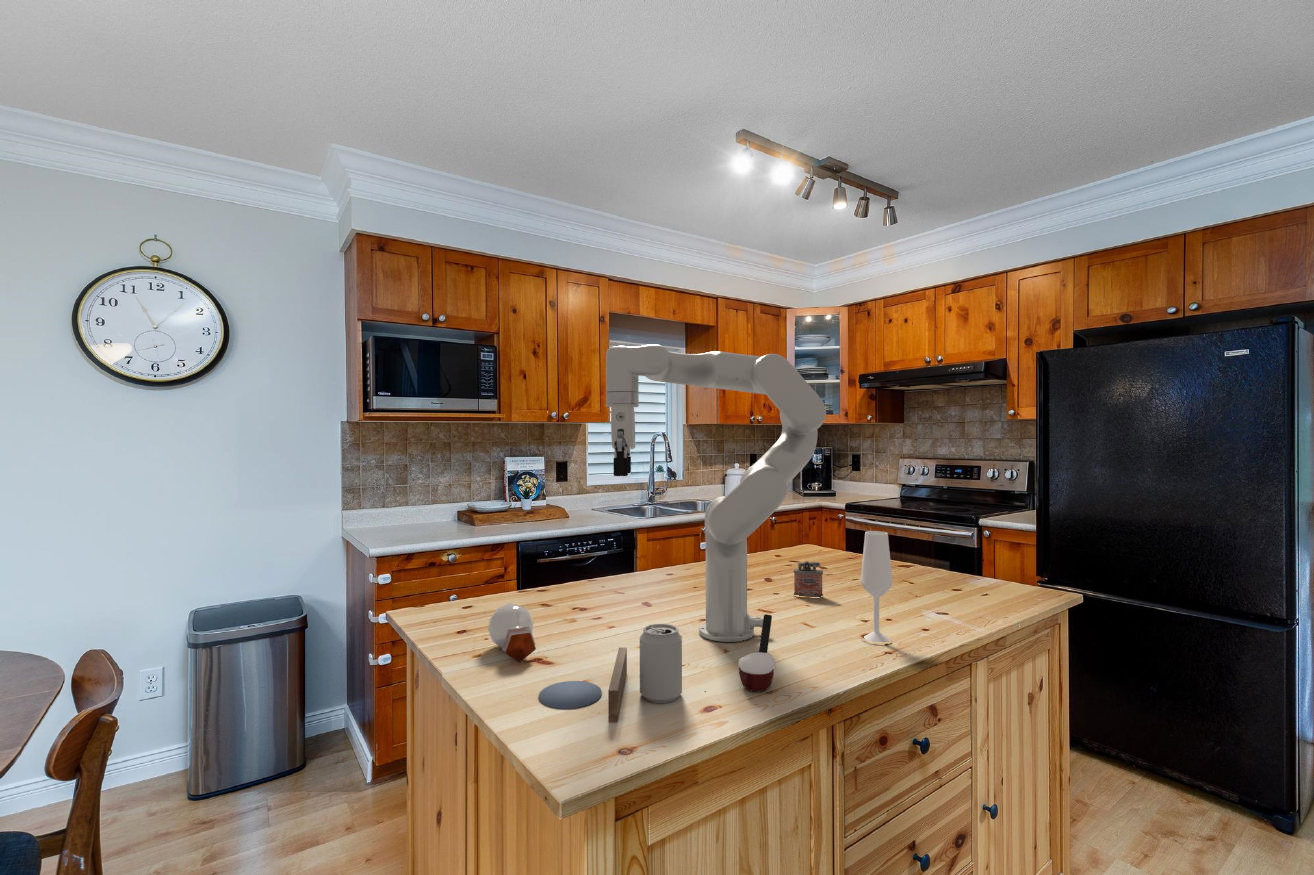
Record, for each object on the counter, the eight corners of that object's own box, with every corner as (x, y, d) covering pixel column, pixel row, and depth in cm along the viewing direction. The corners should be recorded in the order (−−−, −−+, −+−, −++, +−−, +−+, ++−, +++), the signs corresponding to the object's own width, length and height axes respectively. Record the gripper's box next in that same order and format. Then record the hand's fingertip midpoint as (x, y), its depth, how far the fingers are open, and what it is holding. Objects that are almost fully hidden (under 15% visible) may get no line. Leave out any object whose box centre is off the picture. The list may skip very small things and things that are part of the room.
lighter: (794, 597, 174) (794, 562, 174) (793, 594, 177) (793, 559, 177) (823, 598, 173) (823, 563, 173) (822, 595, 176) (822, 560, 176)
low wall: (626, 673, 119) (626, 647, 119) (617, 721, 99) (617, 690, 99) (619, 673, 119) (618, 647, 119) (608, 721, 99) (608, 690, 99)
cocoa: (749, 701, 108) (748, 633, 107) (727, 687, 113) (726, 623, 112) (789, 687, 113) (789, 622, 112) (766, 674, 118) (765, 612, 117)
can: (678, 706, 105) (678, 636, 105) (635, 703, 106) (635, 633, 106) (685, 689, 112) (685, 622, 112) (644, 685, 113) (644, 620, 113)
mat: (604, 682, 115) (604, 681, 115) (597, 709, 104) (597, 707, 104) (545, 682, 115) (545, 680, 115) (532, 708, 104) (532, 706, 104)
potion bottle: (511, 645, 140) (526, 676, 126) (475, 625, 136) (487, 655, 122) (536, 610, 141) (553, 637, 128) (501, 589, 137) (515, 615, 124)
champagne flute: (885, 647, 133) (885, 536, 133) (855, 640, 138) (855, 533, 138) (897, 640, 138) (897, 532, 138) (868, 633, 143) (868, 529, 143)
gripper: (636, 398, 134) (636, 477, 134) (640, 402, 152) (640, 472, 152) (601, 398, 134) (602, 477, 135) (609, 402, 152) (610, 472, 152)
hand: (622, 474), depth 143 cm, fingers open, 9 cm apart
